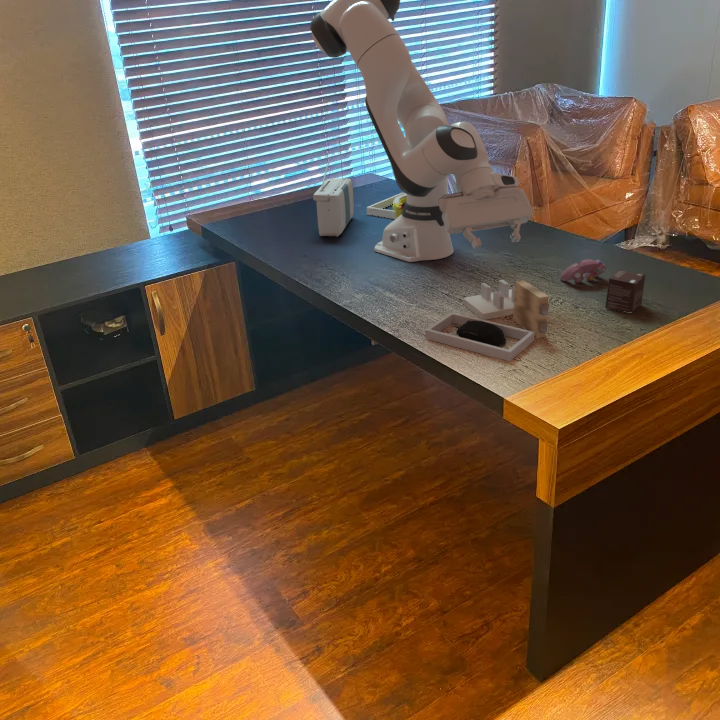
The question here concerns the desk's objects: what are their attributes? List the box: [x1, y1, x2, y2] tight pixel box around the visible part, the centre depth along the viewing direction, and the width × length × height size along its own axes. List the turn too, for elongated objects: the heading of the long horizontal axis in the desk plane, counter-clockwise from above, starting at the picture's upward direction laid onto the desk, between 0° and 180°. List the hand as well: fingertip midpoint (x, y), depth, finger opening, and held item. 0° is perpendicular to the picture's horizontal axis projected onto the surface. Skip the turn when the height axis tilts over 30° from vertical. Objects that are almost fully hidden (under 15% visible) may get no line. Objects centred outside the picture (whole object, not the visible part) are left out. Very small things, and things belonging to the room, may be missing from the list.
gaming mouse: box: [453, 320, 507, 348], centre depth 148 cm, size 6×15×4 cm, turn 37°
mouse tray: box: [424, 311, 535, 362], centre depth 146 cm, size 20×11×2 cm, turn 52°
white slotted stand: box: [462, 279, 515, 321], centre depth 160 cm, size 10×14×4 cm
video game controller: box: [560, 258, 607, 284], centre depth 171 cm, size 10×5×7 cm, turn 106°
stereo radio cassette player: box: [312, 156, 355, 238], centre depth 218 cm, size 21×8×20 cm, turn 170°
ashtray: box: [392, 194, 407, 218], centre depth 232 cm, size 16×21×5 cm
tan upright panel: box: [512, 279, 550, 339], centre depth 148 cm, size 11×2×9 cm, turn 18°
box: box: [604, 269, 646, 313], centre depth 156 cm, size 6×6×7 cm
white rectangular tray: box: [366, 192, 406, 220], centre depth 232 cm, size 26×21×2 cm
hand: (497, 244), depth 156 cm, fingers open, 8 cm apart
